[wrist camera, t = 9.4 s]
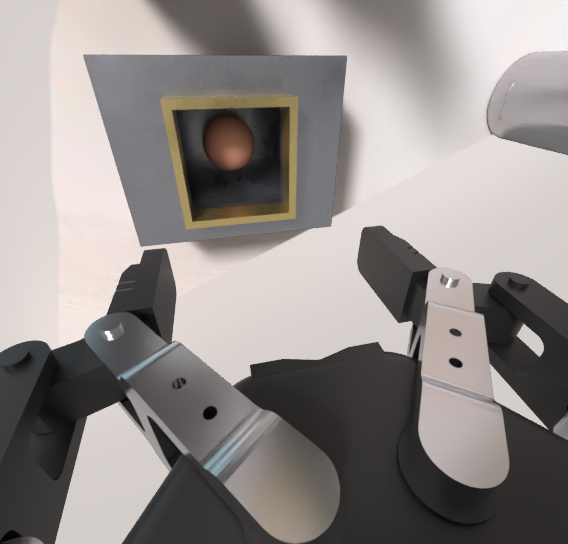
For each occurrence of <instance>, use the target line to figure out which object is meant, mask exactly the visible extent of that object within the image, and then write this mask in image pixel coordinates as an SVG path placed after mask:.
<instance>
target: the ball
mask: <svg viewBox="0 0 568 544" xmlns="http://www.w3.org/2000/svg"><path fill="white" fill-rule="evenodd" d="M202 142H203V149H204V152H205V154H206V156H207V158H208V159H209V160H210V161H211V162H212V163H213V164H214V165H215V166H217V167H218V168H221V169H223V170H237V169H240V168H242V167H244V166H245V165H246V164H247V163H248V162H249V161H250V159H251V158H252V155H253V153H254V148H255V141H254V136H253V133H252V131H251V129H250V128H249V126H248V125H247V124H246V123H245V122H244V121H243V120H242V119H240V118H238V117H236V116H233V115H221V116H218V117H216V118H214V119H212V120H211V121H210V122H209V123H208V125H207V126H206V128H205V130H204V133H203V139H202Z"/></svg>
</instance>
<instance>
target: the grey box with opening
mask: <svg viewBox="0 0 568 544" xmlns="http://www.w3.org/2000/svg"><path fill="white" fill-rule="evenodd" d="M83 56H84V60H85V63H86V66H87V70H88V73H89V76H90V80H91V83H92V86H93V89H94V93H95V96H96V99H97V103H98V106H99V109H100V113H101V116H102V119H103V123H104V126H105V129H106V133H107V136H108V139H109V143H110V146H111V149H112V153H113V156H114V159H115V163H116V166H117V169H118V173H119V176H120V179H121V182H122V186H123V189H124V192H125V196H126V199H127V202H128V206H129V209H130V212H131V216H132V219H133V222H134V226H135V229H136V232H137V236H138V239H139V242H140V246H151V245H160V244H170V243H179V242H189V241H198V240H207V239H217V238H226V237H236V236H245V235H255V234H264V233H273V232H283V231H292V230H302V229H311V228H321V227H329V226H331V222H332V211H333V201H334V190H335V179H336V169H337V158H338V147H339V137H340V126H341V115H342V105H343V94H344V83H345V73H346V62H347V56H285V55H83ZM221 115H233V116H236V117H238V118H240V119H242V120H243V121H244V122H245V123H246V124H247V125H248V126H249V128H250V129H251V131H252V133H253V136H254V141H255V148H254V153H253V155H252V158H251V159H250V161H249V162H248V163H247V164H246V165H245V166H244V167H242V168H240V169H237V170H223V169H221V168H218V167H217V166H215V165H214V164H213V163H212V162H211V161H210V160H209V159H208V158H207V156H206V154H205V152H204V149H203V142H202V139H203V133H204V130H205V128H206V126H207V125H208V123H209V122H210V121H211V120H212V119H214V118H216V117H218V116H221Z"/></svg>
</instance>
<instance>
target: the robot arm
mask: <svg viewBox="0 0 568 544" xmlns="http://www.w3.org/2000/svg"><path fill="white" fill-rule="evenodd" d="M487 118H488V125H489V128H490V130H491V131H492V133H493V134H494V135H495V136H497V137H498V138H502V139H506V140H510V141H515V142H518V143H522V144H526V145H529V146H533V147H537V148H542V149H546V150H550V151H554V152H558V153H562V154H566V155H568V51H554V52H535V53H532V54H529V55H527V56H525V57H523V58H521V59H520V60H518V61H517V62H516V63H514V64H513V65H512V66H511V67H510V68H509V69H508V70H507V71H506V73H505V74H504V75H503V77H502V78H501V79H500V81H499V82H498V84H497V86H496V88H495V89H494V92H493V94H492V97H491V99H490V103H489V107H488V115H487ZM357 263H358V269H359V271H360V273H361V275H362V276H363V277H364V279H365V280H366V281H367V282H368V284H369V285H370V286H371V288H372V289H373V290H374V292H375V293H376V294H377V296H378V297H379V298H380V299H381V301H382V302H383V303H384V305H385V306H386V307H387V309H388V310H389V311H390V313H391V314H392V315H393V316H394V318H395V319H396V320H397V322H398V323H402V322H408V321H412V322H413V325H412V328H411V332H410V338H409V344H408V351H407V356H405V355H402V354H398V353H393V352H384V351H383V349H382V348H381V346H380V345H379V343H378V342H375V343H370V344H364V345H359V346H353V347H348V348H346V349H343V350H341V351H339V352H337V353H334V354H332V355H330V356H328V357H325V358H323V359H320V360H298V359H281V360H275V361H270V362H264V363H259V364H253V365H250V368H251V376H249V377H247V378H245V379H243V380H241V381H240V382H238V383H236V384H235V385H234V386H232V385H231V384H230V383H229V382H227V381H226V380H225V379H224V378H223V377H221V376H220V375H219V374H218V373H217V372H215V371H214V370H213V369H212V368H210V367H209V366H208V365H207V364H206V363H204V362H203V361H202V360H201V359H200V358H198V357H197V356H196V355H195V354H193V353H192V352H191V351H190V350H189V349H187V348H186V347H185V346H184V345H183V344H181V343H180V342H178V341H174V342H172V333H173V323H174V314H175V303H176V286H175V281H174V277H173V273H172V269H171V265H170V261H169V257H168V253H167V250H166V249H165V248H162V249H153V250H145V251H144V252H143V256H142V259H141V262H140V264H135V265H131V266H129V267H128V268H127V269H126V270H125V271H124V272H123V273H122V275H121V278H120V280H119V284H118V286H117V288H116V292H115V294H114V296H113V299H112V302H111V304H110V307H109V310H108V312H107V315H106V316H104V317H102V318H100V319H98V320H96V321H95V322H94V323H92V324H91V325H90V326H89V327H88V329H87V330H86V332H85V335H84V338H83V339H81V340H79V341H77V342H74V343H71V344H68V345H66V346H63V347H60V348H57V349H54V350H51V349H50V347H49V346H48V345H47V343H45V342H42V341H27V342H23V343H20V344H17V345H14V346H12V347H10V348H8V349H6V350H4V351H2V352H1V353H0V544H55V540H56V536H57V532H58V528H59V524H60V520H61V517H62V513H63V509H64V505H65V501H66V497H67V493H68V489H69V485H70V481H71V477H72V474H73V469H74V466H75V462H76V458H77V454H78V450H79V446H80V442H81V438H82V434H83V430H84V427H85V423H86V419H87V416H88V415H90V414H93V413H95V412H97V411H99V410H102V409H104V408H106V407H108V406H110V405H112V404H114V403H117V402H118V404H119V405H120V406H121V408H122V409H123V410H124V411H125V412H126V414H127V415H128V416H129V417H130V419H131V420H132V421H133V422H134V424H135V425H136V426H137V427H138V429H139V430H140V431H141V432H142V434H143V435H144V436H145V437H146V439H147V440H148V441H149V442H150V444H151V445H152V447H153V448H154V450H155V452H156V453H157V455H158V456H159V458H160V459H161V461H162V462H163V464H164V465H165V466H166V467H167V469H168V470H169V471H170V473H169V474H168V476H167V477H166V479H165V480H164V482H163V483H162V485H161V486H160V488H159V489H158V491H157V492H156V494H155V495H154V497H153V498H152V500H151V501H150V503H149V504H148V505H147V507H146V509H145V510H144V512H143V513H142V514H141V516H140V517H139V519H138V521H137V522H136V523H135V525H134V526H133V528H132V529H131V531H130V532H129V534H128V535H127V537H126V538H125V540H124V541H123V543H122V544H568V303H566V302H565V301H563V300H562V299H560V298H559V297H557V296H556V295H555V294H553V293H551V292H550V291H549V290H547V289H546V288H545V287H543V286H542V285H540V284H539V283H537V282H536V281H534V280H533V279H530V278H529V277H526V276H524V275H521V274H517V273H511V272H501V273H498V274H496V275H495V277H494V279H493V281H492V283H491V284H481V283H472V281H471V280H470V278H468V277H467V276H466V275H465V274H463V273H461V272H459V271H456V270H453V269H449V268H437V267H436V266H434V265H433V264H432V263H431V262H430V261H428V260H427V259H426V258H425V257H424V256H423V255H421V254H419V252H418V251H417V250H416V249H414V248H413V247H412V246H411V245H410V244H409V243H408V242H406V241H405V240H403V239H401V238H399V237H397V236H394V235H393V234H391V233H390V232H389V231H388V230H387V229H386V228H385V227H383V226H373V227H365V228H363V230H362V233H361V239H360V247H359V252H358V259H357ZM523 324H525V325H526V326H527V327H529V328H530V329H531V330H532V331H533V332H535V333H536V334H537V335H538V336H539V337H540V338H541V340H542V342H543V344H544V351H543V353H542V355H541V356H540V357H539V356H537V355H536V354H535V353H534V352H533V351H532V350H531V349H530V348H529V347H528V346H527V345H526V344H525V343H524V342H522V341H521V340H520V339H519V338H518V337H517V334H518V332H519V331H520V329H521V327H522V326H523ZM171 342H172V343H171ZM490 364H491V365H492V366H493V367H494V368H495V370H496V371H497V372H498V373H499V374H500V375H501V376H502V377H503V379H504V380H505V381H506V382H507V383H508V384H509V385H510V386H511V387H512V389H513V390H514V391H515V392H516V393H517V394H518V395H519V397H520V398H521V399H522V400H523V401H524V402H525V403H526V404H527V406H528V407H529V408H530V409H531V410H532V411H533V412H534V413H535V415H536V416H537V417H538V418H539V419H540V420H541V421H542V422H543V423H544V425H545V426H546V427H547V428H548V429H549V430H548V429H546V428H544V427H542V426H540V425H538V424H537V423H535V422H533V421H531V420H529V419H527V418H525V417H523V416H521V415H520V414H518V413H516V412H514V411H512V410H510V409H508V408H507V407H505V406H503V405H501V404H499V403H497V402H496V401H495V400H494V396H493V388H492V380H491V372H490Z"/></svg>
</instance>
